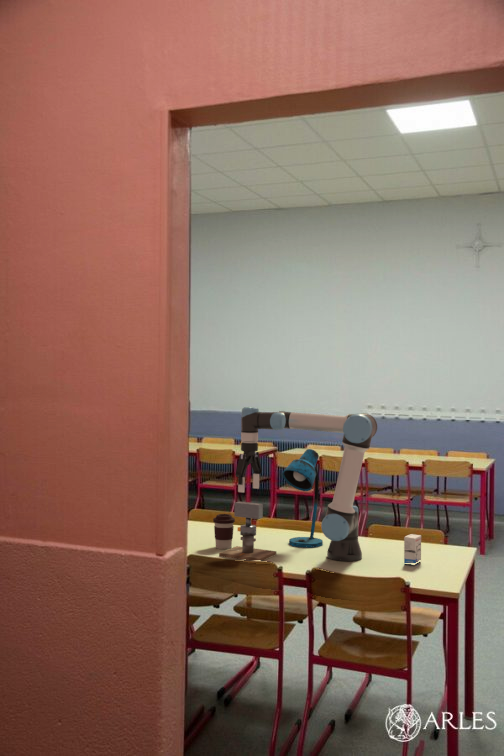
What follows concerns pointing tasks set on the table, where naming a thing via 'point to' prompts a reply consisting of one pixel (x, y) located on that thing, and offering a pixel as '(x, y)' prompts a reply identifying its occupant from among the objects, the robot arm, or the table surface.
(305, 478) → the desk lamp
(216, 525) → the coffee cup
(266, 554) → the post base
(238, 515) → the twist cap
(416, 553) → the ink box
